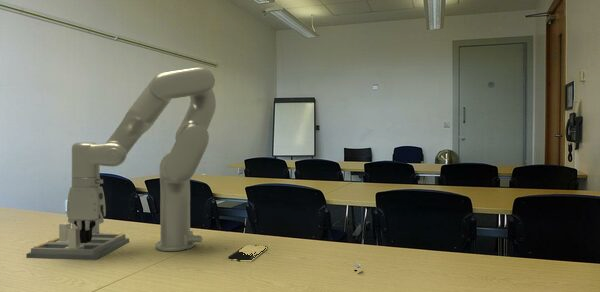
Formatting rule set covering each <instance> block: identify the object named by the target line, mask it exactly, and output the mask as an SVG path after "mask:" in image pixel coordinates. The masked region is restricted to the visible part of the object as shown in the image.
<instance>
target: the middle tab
mask: <svg viewBox="0 0 600 292" xmlns="http://www.w3.org/2000/svg"><path fill="white" fill-rule="evenodd" d="M71 228H72V223H69V222H62V223H59V224H58V238H59V241H56V242H68V230H69V229H71Z"/></svg>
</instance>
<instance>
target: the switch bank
mask: <svg viewBox="0 0 600 292" xmlns="http://www.w3.org/2000/svg"><path fill="white" fill-rule="evenodd" d="M56 241H59V237H55V238H53V239H49V240H48V241H46V242H43V243H40V244H39V243H38V244H37V245H35V246H33V247H32V248H30V251H29V252H27V253H26V254H25V255H26V258H27V259H28V258H29V259H60V260H61V259H62V260H63V259H64V260H91V261H93V260H94V261H95V260H96V261H97V260H99V259H101V258H103V257H104V256H107V254H110V253H112V252H113V251H115V250H117V249H119V248H121V247H122V246H125V245H126V244H128V243H130V238H128V237H126V233H99V234H97V233H92V239H91V241H90V242H88V243H80V245H84V246H85V249H69V248H66V247H68V242H56Z"/></svg>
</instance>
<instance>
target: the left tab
mask: <svg viewBox="0 0 600 292" xmlns="http://www.w3.org/2000/svg"><path fill="white" fill-rule="evenodd" d="M66 248H69V249H85V246H84V245H80V230H78V228H72V227H71V229H69V230H68V247H66Z"/></svg>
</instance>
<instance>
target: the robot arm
mask: <svg viewBox="0 0 600 292" xmlns="http://www.w3.org/2000/svg"><path fill="white" fill-rule="evenodd" d="M215 82H216V79H215V75H214V74H213V72H212V71H211V70H210V69H209V68H206V67H203V66H202V67H199V66H198V67H191V68H185V69H178V70H172V71H171V70H170V71H165V72H160V73H158V74H156V75H155V76H153V78H152V79H151V81H149V83H148V84H147V86H146V87H145V88H144V89H143V91H141V93H140V95H139V96H138V97H137V98H136V99H135V101H134V102H133V104H132V105H131V106H130V108H129V109H128V110H127V112H126V113H125V115H124V117H123V119H122V121H121V122H120V124H119V125H118V126H117V128H115V130H114V131H113V133H112V135H111V136H109V138H108V140H107V141H106V142H104V143H96V142H75V143H73V144H72V146H71V187H70V188H69V190H68V196H67V202H66V216H67V219H68V220H67V223H71V225H72V224H75V225H76V226H77V228H78V230H80V243H88V242H90V241H91V239H92V228H94V226H95V225H96V224H99V225H101V224H102V223H104V222H105V221H104V218H105V217H106V214H107V213H106V212H107V210H106V200H105V193H104V189H103V186H100V185H102V184H104V179H103V178H102V179H101V177H100V170H101V169H100V168H101V167H102V166H103V167H110V168H111V167H118V166H120V165H122V164H123V163H124V162H125V160H126V158H127V156H128V154H129V152H130V151H131V149H132V148H133V147H134V145H135V144H137V142H138V141H139V139H140V138H141V137H142V136H143V135H144V134H145V133H146V132H148V130H150V129H151V127H152V126H153V125H154V124H155V122H156V120H158V118H159V117H160V116H161V114H162V113H163V112H164V110H165V109H166V107H167V106H168V105H169V103H171V101H172V100H173V99H180V98H185V97H190V101H189V102H190V103H189V106H188V108H187V111H186V113H185V115H184V118H183V120H182V121H181V124H180V125H179V127H178V129H177V130H176V133H175V136H174V137H175V138H174V139H175V141H174V144H173V145H172V148H171V150H170V152H169V153H167V154H164V156H163V157H162V159H161V160H160V163H159V184H160V185H159V186H160V191H159V193H160V194H159V195H160V200H159V201H160V213H159V214H160V218H159V219H160V222H159V223H160V226H159V227H160V240H159V241H158V242H156V243H155V249H156V250H158V251H163V252H178V251H185V249H186V250H189V249H191V248H193V247H194V246H195V245H196V243H203V236H202V235H199V234H198V235H196V234H194V231H193V230H191V182H190V180H191V179H192V177H194V175H195V173H196V171H197V168H198V166H199V164H200V162H201V161H202V159H203V156H204V154H205V152H206V150H207V147H208V146H209V145H208V144H209V141H210V140H209V138H210V136H209V132H208V131H209V130H208V129H209V127H210V125H211V122H212V119H213V117H214V115H215V111H216V106H217V104H216V103H217V102H216V101H217V100H216V95H215V92H214V90H213V88H214V87H215V85H216V83H215ZM100 166H101V167H100Z"/></svg>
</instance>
